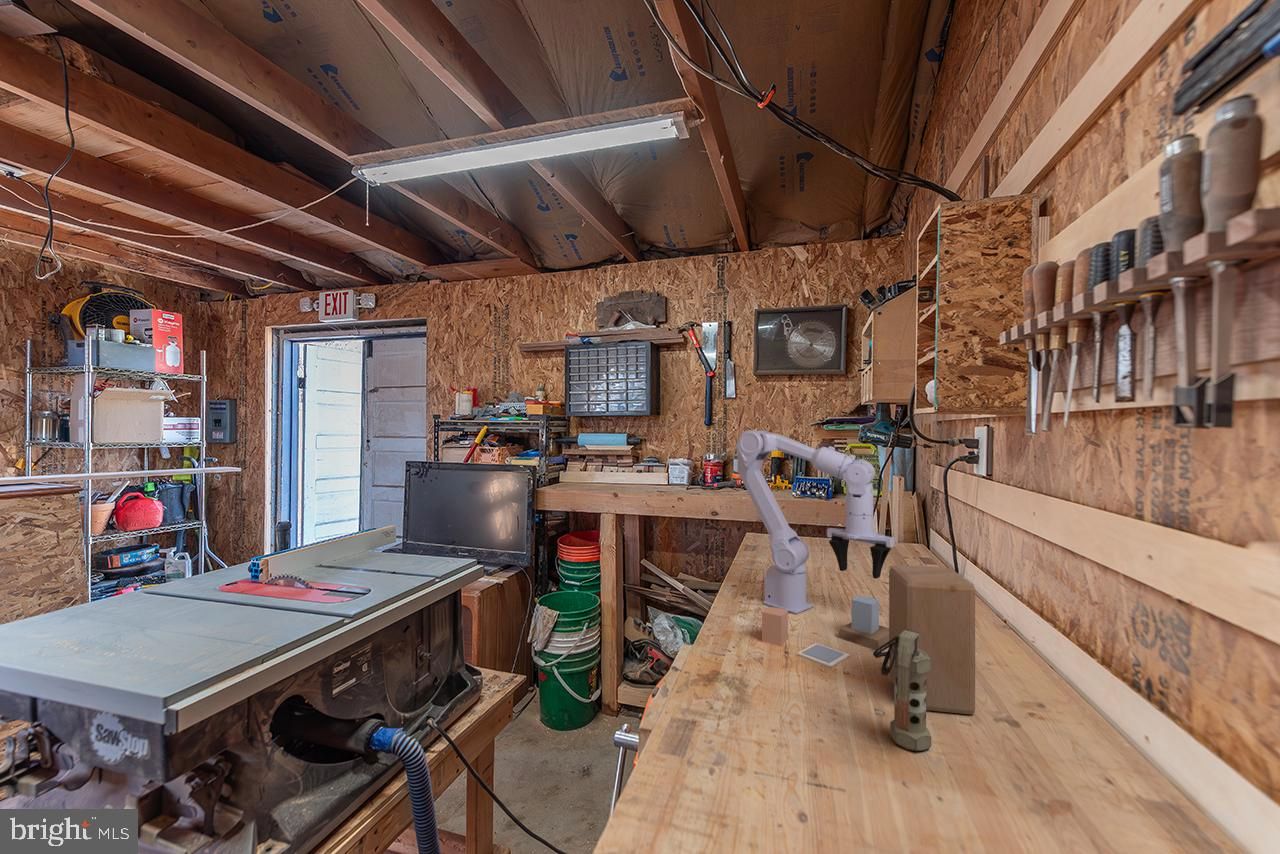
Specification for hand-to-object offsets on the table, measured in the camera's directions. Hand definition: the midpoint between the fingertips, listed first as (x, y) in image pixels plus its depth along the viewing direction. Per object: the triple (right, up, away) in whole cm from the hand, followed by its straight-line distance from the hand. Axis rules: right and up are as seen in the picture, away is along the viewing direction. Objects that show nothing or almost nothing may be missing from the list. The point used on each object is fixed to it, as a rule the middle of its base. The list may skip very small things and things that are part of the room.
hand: (859, 573), depth 115 cm
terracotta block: (-22, -10, -11) cm, 27 cm away
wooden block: (-3, -11, -33) cm, 35 cm away
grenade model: (-14, -10, -45) cm, 48 cm away
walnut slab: (-3, -11, -10) cm, 15 cm away
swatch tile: (-15, -10, -18) cm, 26 cm away
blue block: (-3, -8, -10) cm, 14 cm away
